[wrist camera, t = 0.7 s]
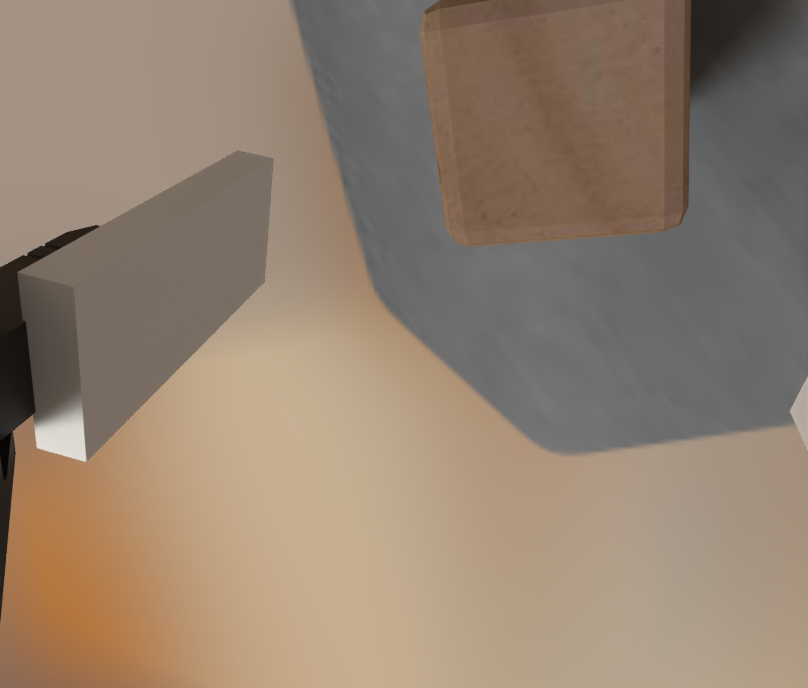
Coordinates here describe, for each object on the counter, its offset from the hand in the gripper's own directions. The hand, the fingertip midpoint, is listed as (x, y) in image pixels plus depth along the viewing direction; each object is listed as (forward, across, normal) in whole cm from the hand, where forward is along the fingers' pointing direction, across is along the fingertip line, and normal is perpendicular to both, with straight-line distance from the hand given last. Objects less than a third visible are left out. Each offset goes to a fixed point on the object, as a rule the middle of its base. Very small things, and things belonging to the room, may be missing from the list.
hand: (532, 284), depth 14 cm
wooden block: (+36, 0, 0) cm, 36 cm away
